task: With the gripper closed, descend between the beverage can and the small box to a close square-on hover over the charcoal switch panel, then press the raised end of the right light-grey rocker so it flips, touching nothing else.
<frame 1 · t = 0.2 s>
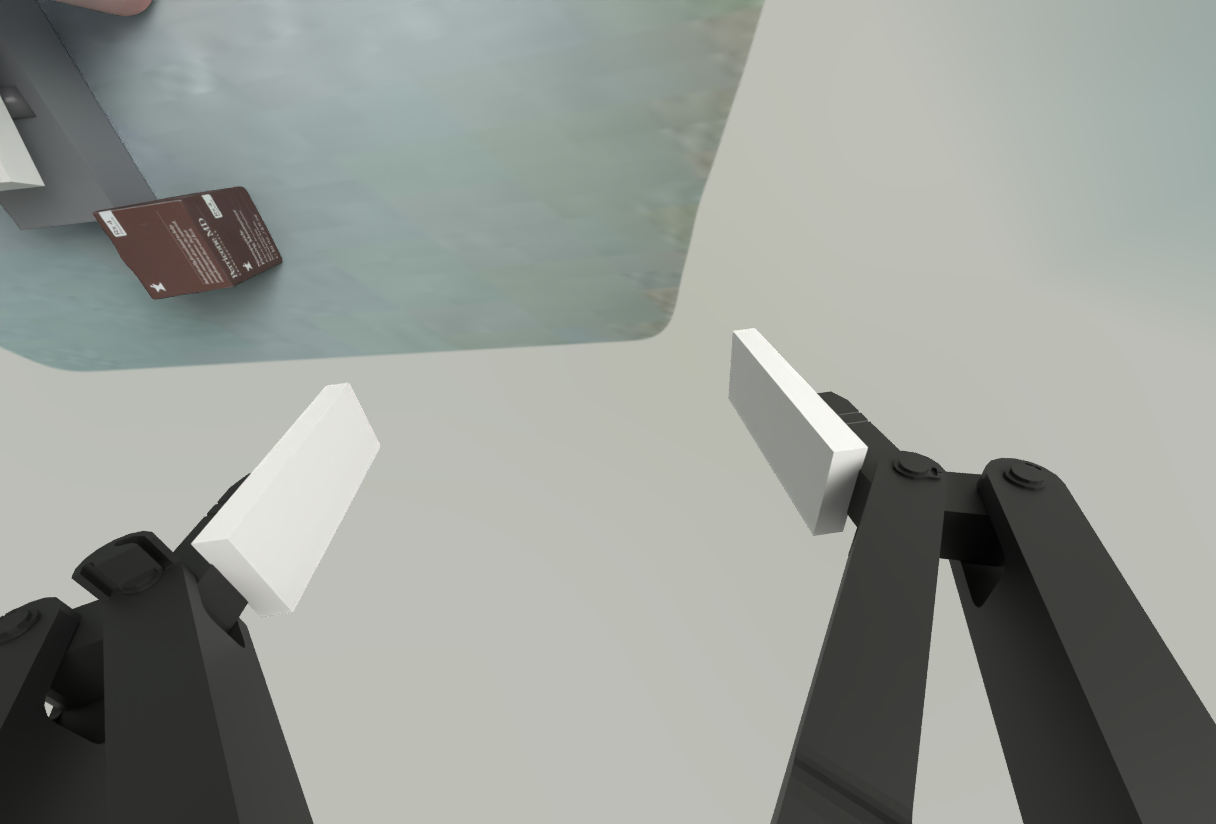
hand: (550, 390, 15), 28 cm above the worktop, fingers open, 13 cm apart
box: (231, 230, 37), on the worktop
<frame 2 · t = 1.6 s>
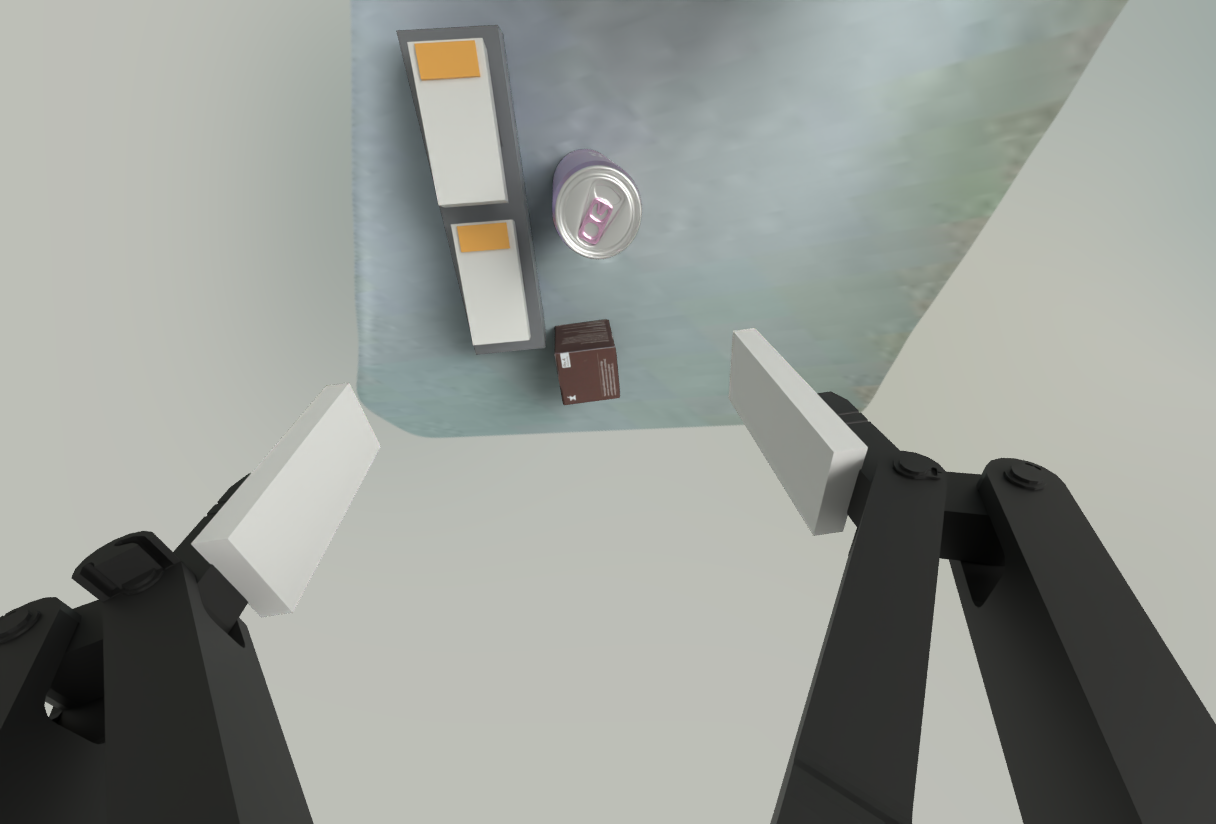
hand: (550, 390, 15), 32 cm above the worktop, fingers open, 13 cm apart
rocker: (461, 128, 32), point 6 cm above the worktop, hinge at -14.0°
box: (584, 345, 50), on the worktop
beverage can: (585, 185, 41), on the worktop
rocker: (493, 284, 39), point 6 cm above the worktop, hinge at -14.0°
switch panel: (490, 211, 41), on the worktop
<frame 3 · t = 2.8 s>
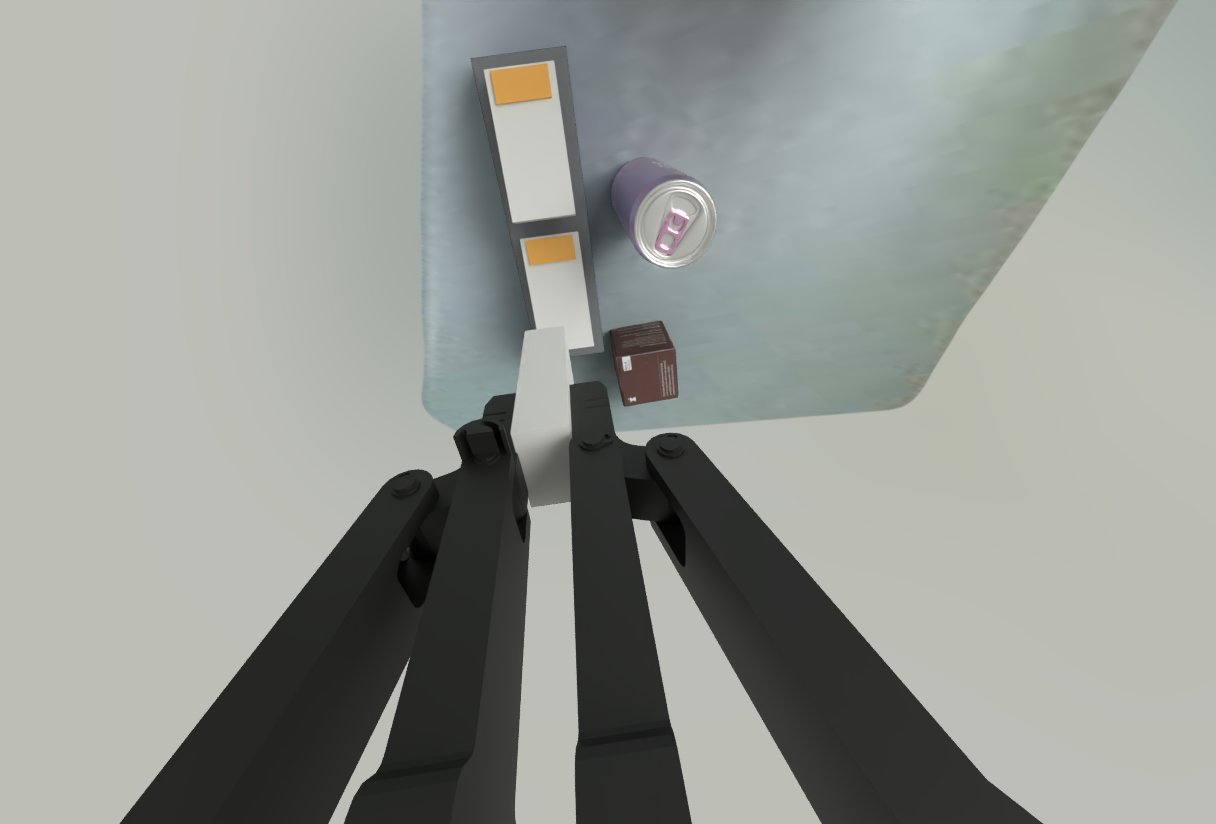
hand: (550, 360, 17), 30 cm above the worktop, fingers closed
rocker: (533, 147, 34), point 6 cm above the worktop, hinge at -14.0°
box: (637, 346, 51), on the worktop
beverage can: (641, 192, 42), on the worktop
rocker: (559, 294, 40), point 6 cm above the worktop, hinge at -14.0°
switch panel: (550, 222, 43), on the worktop
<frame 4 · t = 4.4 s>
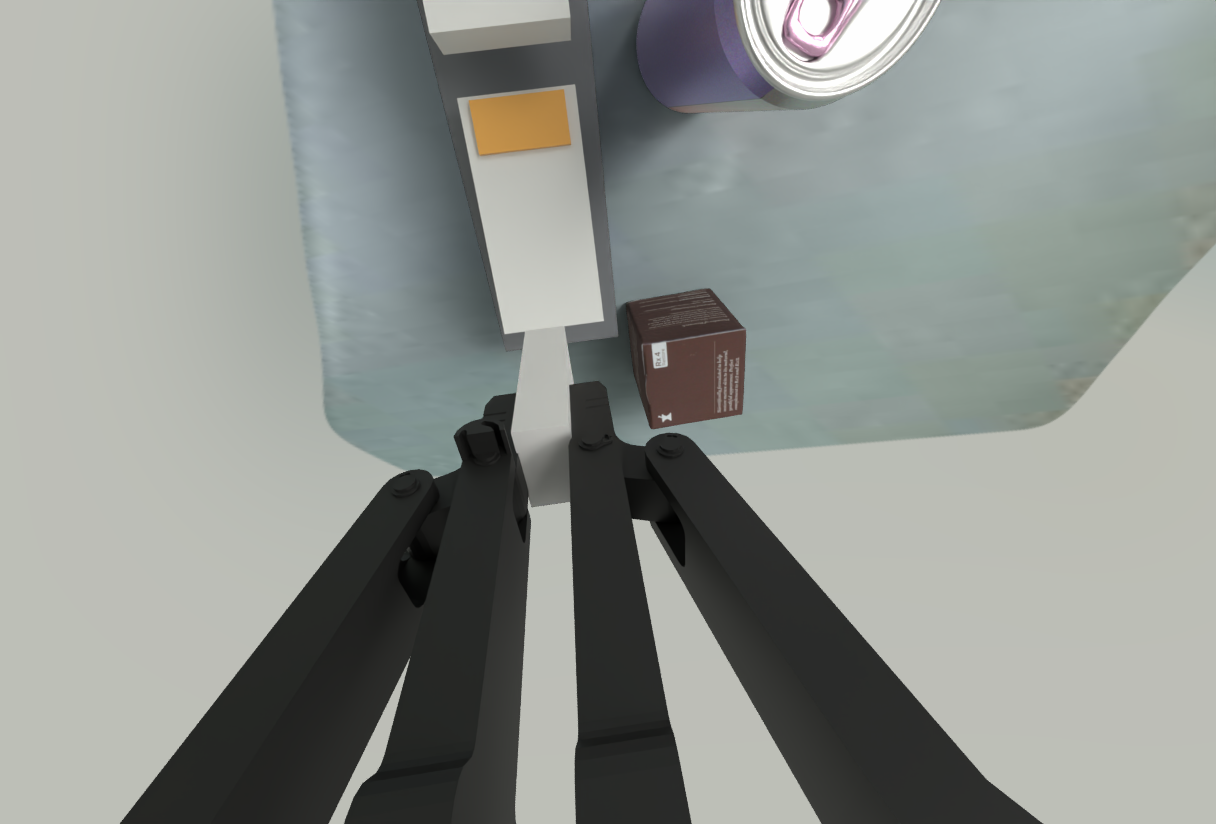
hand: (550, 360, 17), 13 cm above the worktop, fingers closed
box: (668, 331, 32), on the worktop
beverage can: (690, 44, 23), on the worktop
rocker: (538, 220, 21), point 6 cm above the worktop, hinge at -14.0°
switch panel: (524, 99, 24), on the worktop
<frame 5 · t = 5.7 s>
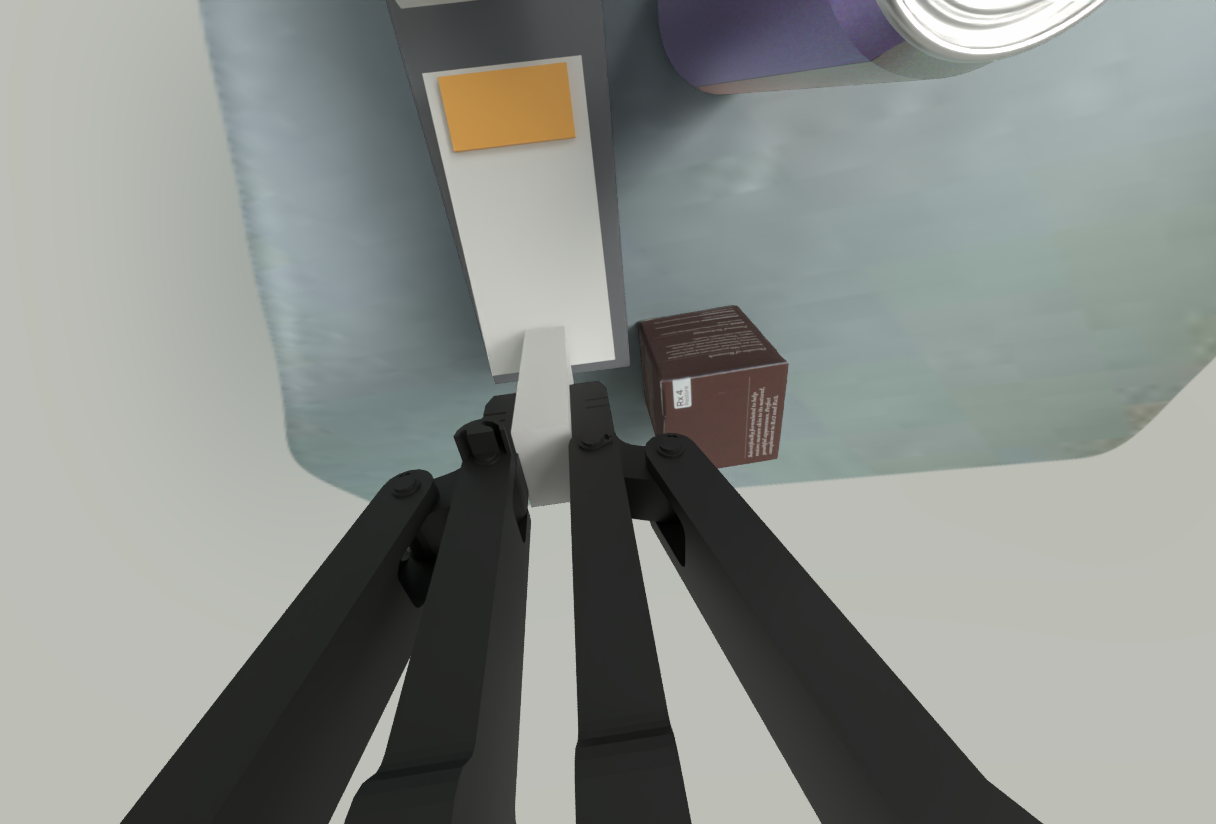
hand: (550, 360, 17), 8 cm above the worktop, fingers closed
box: (687, 354, 28), on the worktop
beverage can: (724, 6, 18), on the worktop
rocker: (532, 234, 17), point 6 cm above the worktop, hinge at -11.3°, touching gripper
switch panel: (516, 76, 19), on the worktop
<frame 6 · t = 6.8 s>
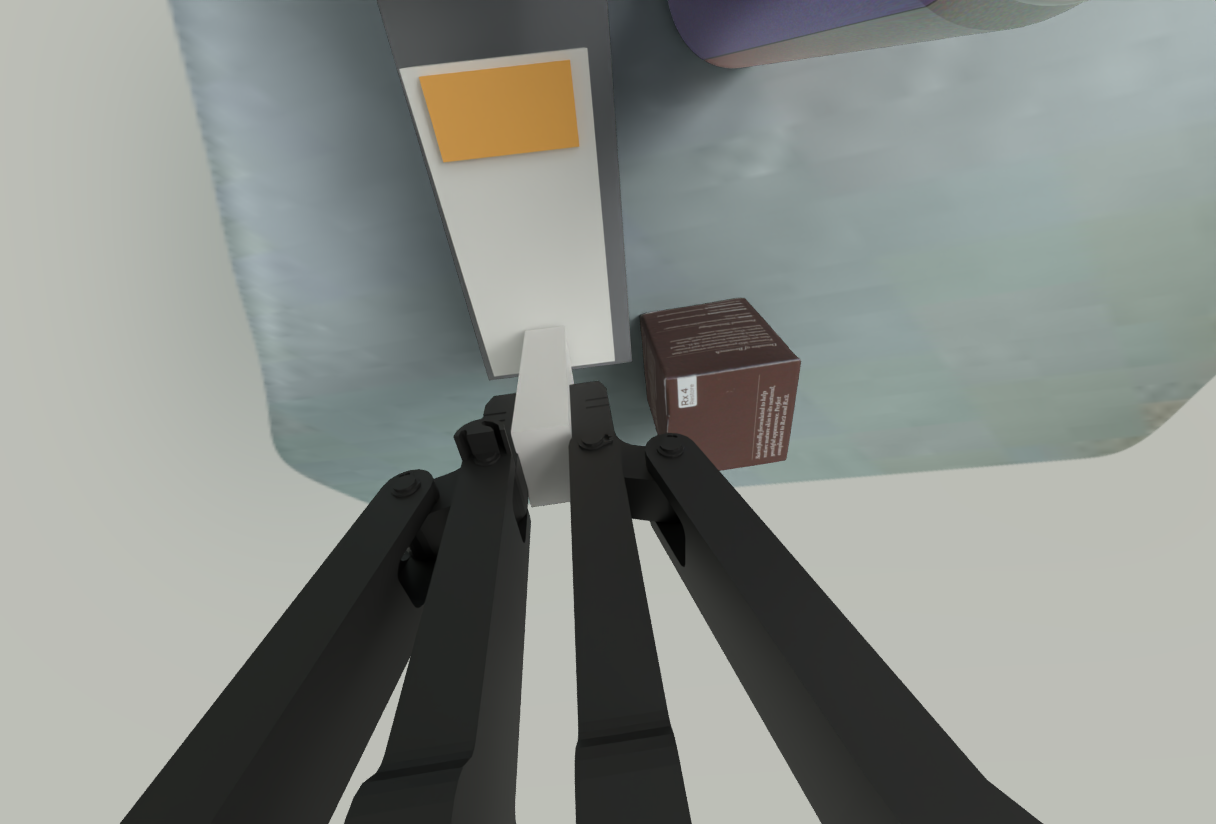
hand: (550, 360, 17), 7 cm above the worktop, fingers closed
box: (691, 348, 26), on the worktop
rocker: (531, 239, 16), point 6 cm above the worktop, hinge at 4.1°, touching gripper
switch panel: (510, 46, 17), on the worktop
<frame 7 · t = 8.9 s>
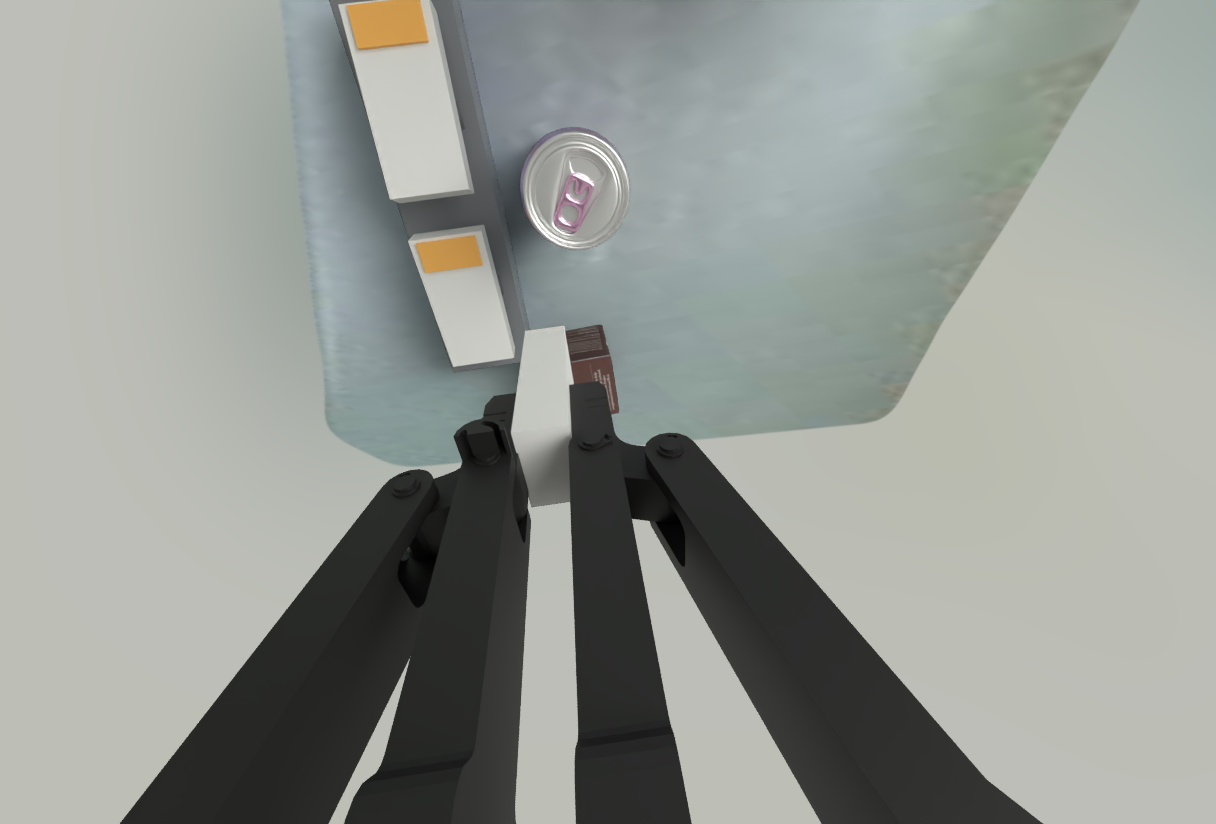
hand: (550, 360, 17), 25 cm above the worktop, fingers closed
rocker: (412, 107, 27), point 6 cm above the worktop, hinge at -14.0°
box: (576, 355, 45), on the worktop
beverage can: (565, 173, 36), on the worktop
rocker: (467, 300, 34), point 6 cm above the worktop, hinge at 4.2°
switch panel: (459, 208, 36), on the worktop
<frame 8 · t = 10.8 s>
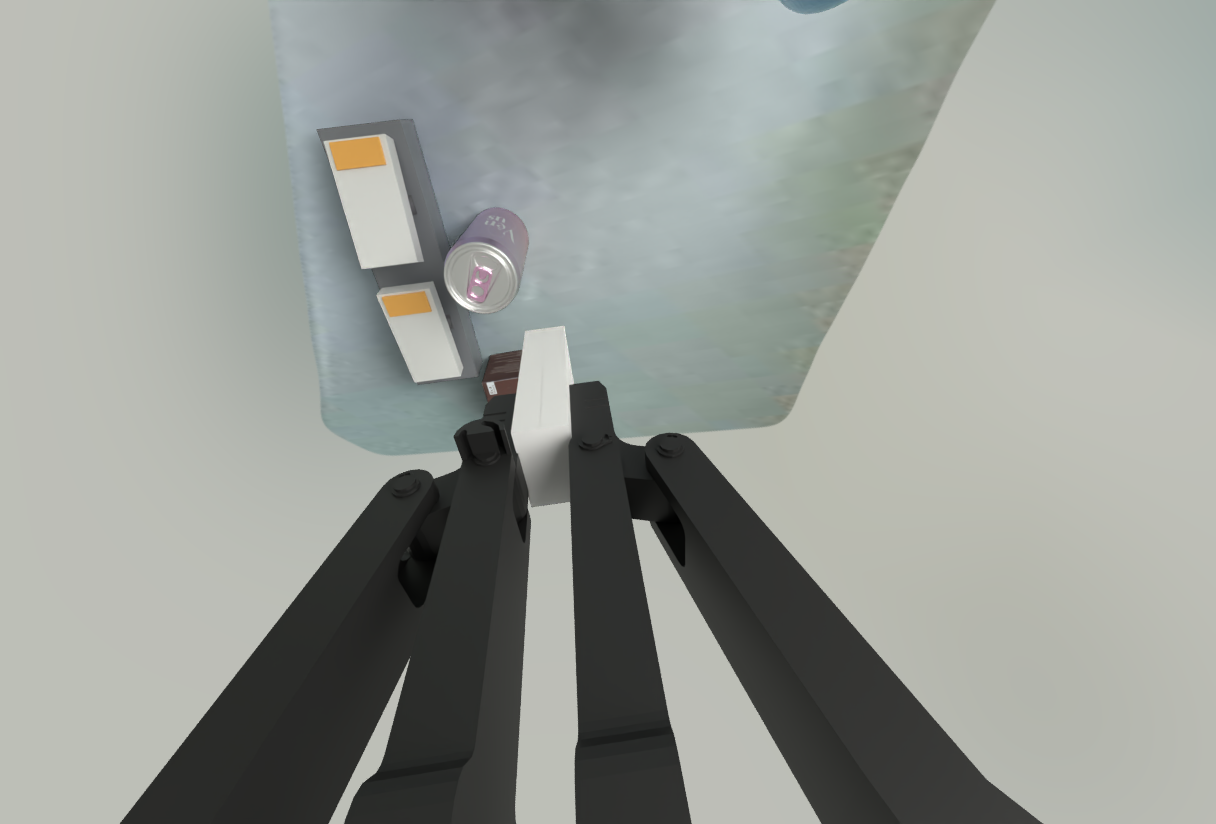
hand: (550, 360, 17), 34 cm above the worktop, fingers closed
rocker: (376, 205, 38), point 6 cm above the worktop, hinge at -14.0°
box: (519, 370, 56), on the worktop
beverage can: (500, 236, 47), on the worktop
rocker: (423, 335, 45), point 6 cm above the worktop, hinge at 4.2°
switch panel: (420, 262, 47), on the worktop
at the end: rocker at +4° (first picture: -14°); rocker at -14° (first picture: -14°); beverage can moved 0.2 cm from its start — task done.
